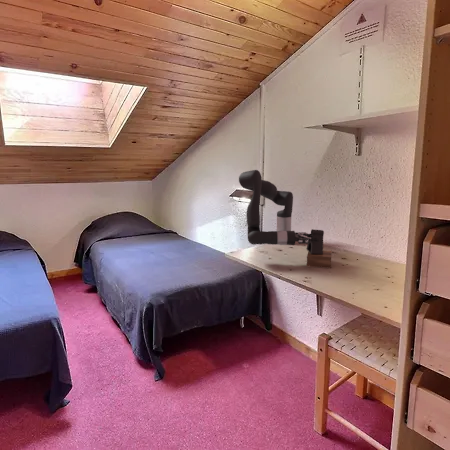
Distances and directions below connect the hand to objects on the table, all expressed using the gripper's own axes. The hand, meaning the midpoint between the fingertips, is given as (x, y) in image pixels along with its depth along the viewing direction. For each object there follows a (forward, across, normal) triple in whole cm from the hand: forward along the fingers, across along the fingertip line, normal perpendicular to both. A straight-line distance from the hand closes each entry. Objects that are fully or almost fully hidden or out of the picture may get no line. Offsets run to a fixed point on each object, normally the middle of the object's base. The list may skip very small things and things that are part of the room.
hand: (316, 237), depth 186 cm
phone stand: (-1, +1, +8) cm, 8 cm away
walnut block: (+2, 0, +14) cm, 15 cm away
